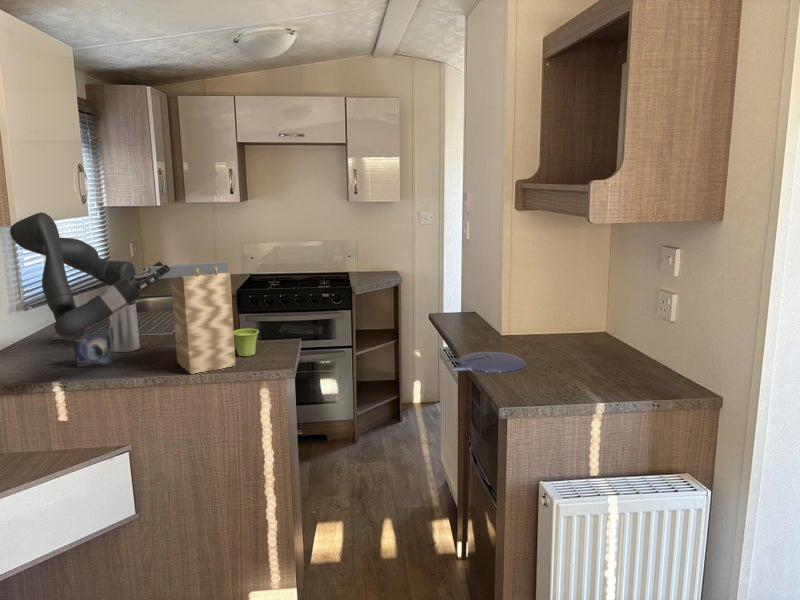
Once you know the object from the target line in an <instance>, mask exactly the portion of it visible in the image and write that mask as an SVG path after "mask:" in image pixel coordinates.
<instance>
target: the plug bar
mask: <svg viewBox="0 0 800 600" xmlns="http://www.w3.org/2000/svg"><path fill="white" fill-rule="evenodd" d="M166 265H167V264H166ZM167 266H168V267H169V269H170V271H169V272H167V273H166V274H164V275H163V276H161V277H160V279H171V278H174V277H185V276H196V268H198V269H199V275H208V274H215V271H214V267H217V273H218V274H220V273H229V272H228V271H229V269H228V262H227V261H225V260H223V261H221V260H220V261H209V262H197V263H184V264H171V265H167ZM161 267H162V266H154V267H152V266H148V267H147V268H148V269H149V273H152V272H154V271H156V270H158V269H159V268H161Z"/></svg>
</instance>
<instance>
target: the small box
mask: <svg viewBox="0 0 800 600" xmlns="http://www.w3.org/2000/svg"><path fill="white" fill-rule="evenodd" d="M73 347H74V355H75V356H74V357H75V358H74V359H75V366H76V367H75V368H89V367H105V366H111V363H112V362H113V356H112V355H113V354H112V351H111V340H110V331H108V332H92V333H84V334H83V336H82V337H81V338H80V339H78V340H75V341H73Z"/></svg>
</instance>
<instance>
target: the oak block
mask: <svg viewBox="0 0 800 600" xmlns="http://www.w3.org/2000/svg"><path fill="white" fill-rule="evenodd" d="M214 271H215V274H208V275H199V269H198V268H196V276H185V277H174V278H170V285H171V286H170V287H171V294H172V295H171V296H172V297H171V298H172V309H173V311H172V312H173V324H174V336H175V350H176V362H177V363H178V364H179V365H180V366H181V368H183V369H184V368H185V369H186V370H187V371H188V372H189V373H190V374H193V375H196V374H195V373H199V372H204V373H206V372H205V371H210V370H216V369H222V368H226V367H232V366H236V352H235V351H236V350H235V348H236V346H235V338H234V331H235V330H234V316H233V315H234V314H233V313H234V312H233V299H232V297H233V296H232V281H231V280H232V279H231V273H229V272H228V273H220V274H218V273H217V267H214ZM185 369H184V370H185ZM186 370H185V371H186ZM222 370H223V369H222ZM187 371H186V372H187ZM216 371H217V370H216ZM188 372H187V373H188ZM210 372H211V371H210ZM189 373H188V374H189ZM190 374H189V375H190ZM199 374H200V373H199Z"/></svg>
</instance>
